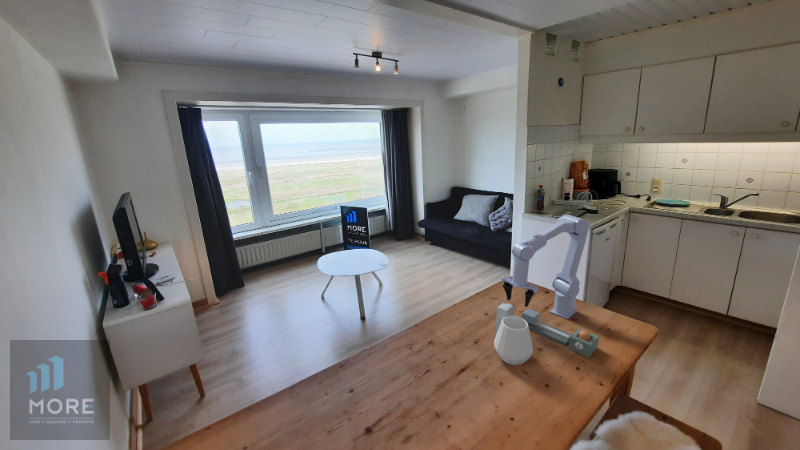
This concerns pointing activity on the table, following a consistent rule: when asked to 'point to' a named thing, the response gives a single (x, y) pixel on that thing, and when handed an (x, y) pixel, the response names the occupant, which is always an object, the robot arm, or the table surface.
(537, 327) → the rail base
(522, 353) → the cup
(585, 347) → the cabinet
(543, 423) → the table surface
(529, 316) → the carriage
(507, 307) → the skincare box
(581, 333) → the button
